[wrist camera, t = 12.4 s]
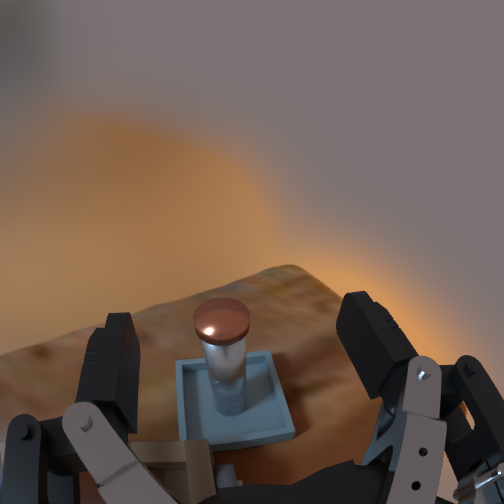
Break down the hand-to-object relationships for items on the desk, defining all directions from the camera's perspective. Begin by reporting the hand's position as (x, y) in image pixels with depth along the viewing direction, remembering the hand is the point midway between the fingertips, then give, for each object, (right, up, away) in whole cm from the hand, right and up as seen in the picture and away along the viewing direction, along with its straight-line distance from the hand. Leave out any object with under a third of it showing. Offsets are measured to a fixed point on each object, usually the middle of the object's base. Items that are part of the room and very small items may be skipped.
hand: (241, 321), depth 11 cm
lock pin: (-2, -16, +22) cm, 27 cm away
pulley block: (-7, -23, +12) cm, 27 cm away
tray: (-2, -17, +23) cm, 28 cm away
